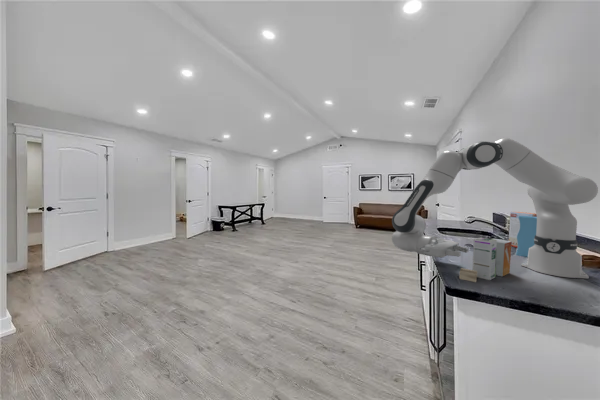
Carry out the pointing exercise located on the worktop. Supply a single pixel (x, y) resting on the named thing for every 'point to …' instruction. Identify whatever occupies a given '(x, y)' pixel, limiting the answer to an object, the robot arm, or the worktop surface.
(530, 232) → the vase
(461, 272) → the maple block
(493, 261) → the syrup box
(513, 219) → the cracker box
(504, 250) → the small box
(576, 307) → the worktop surface
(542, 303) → the worktop surface
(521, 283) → the worktop surface
